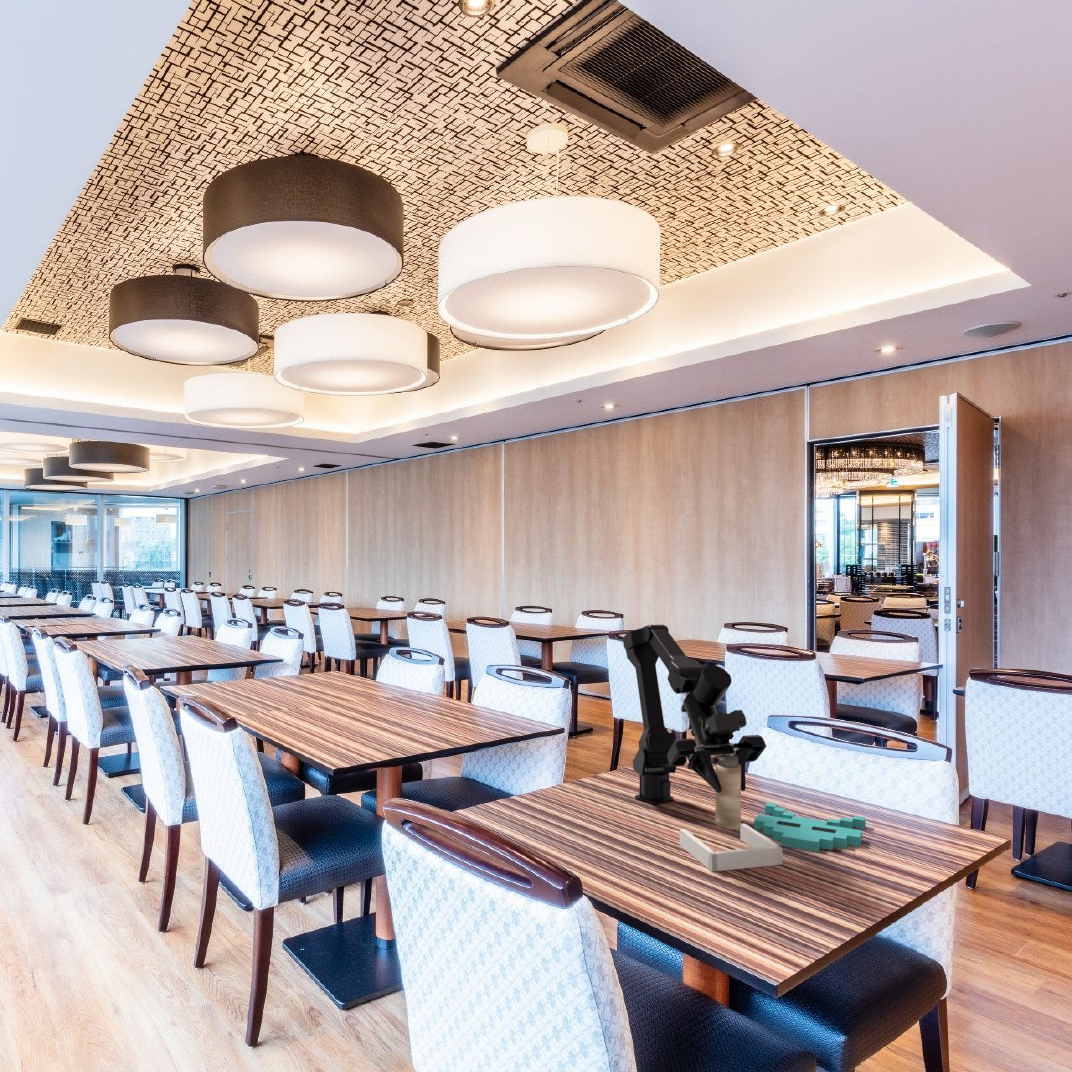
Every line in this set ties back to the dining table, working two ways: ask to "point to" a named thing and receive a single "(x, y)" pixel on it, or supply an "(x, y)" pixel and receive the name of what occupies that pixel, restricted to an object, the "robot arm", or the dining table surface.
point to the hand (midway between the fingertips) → (731, 790)
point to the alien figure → (809, 830)
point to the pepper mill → (728, 792)
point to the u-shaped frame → (735, 851)
